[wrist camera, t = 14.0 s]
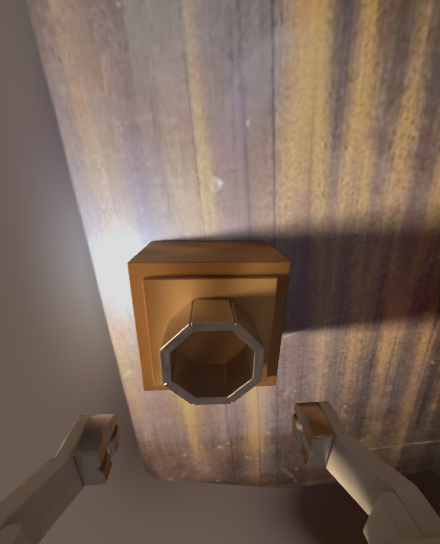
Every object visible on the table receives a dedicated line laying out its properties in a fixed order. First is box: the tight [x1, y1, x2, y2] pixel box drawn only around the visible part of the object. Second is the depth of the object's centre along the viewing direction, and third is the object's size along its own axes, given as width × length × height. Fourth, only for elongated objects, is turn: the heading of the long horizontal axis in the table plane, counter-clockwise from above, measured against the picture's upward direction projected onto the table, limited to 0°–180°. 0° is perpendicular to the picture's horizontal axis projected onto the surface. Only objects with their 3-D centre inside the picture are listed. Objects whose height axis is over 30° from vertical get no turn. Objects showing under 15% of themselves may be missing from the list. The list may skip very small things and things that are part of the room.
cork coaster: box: [142, 276, 278, 386], centre depth 16 cm, size 9×9×1 cm
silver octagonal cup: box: [159, 298, 265, 405], centre depth 15 cm, size 6×6×3 cm
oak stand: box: [127, 241, 291, 391], centre depth 20 cm, size 11×11×7 cm
